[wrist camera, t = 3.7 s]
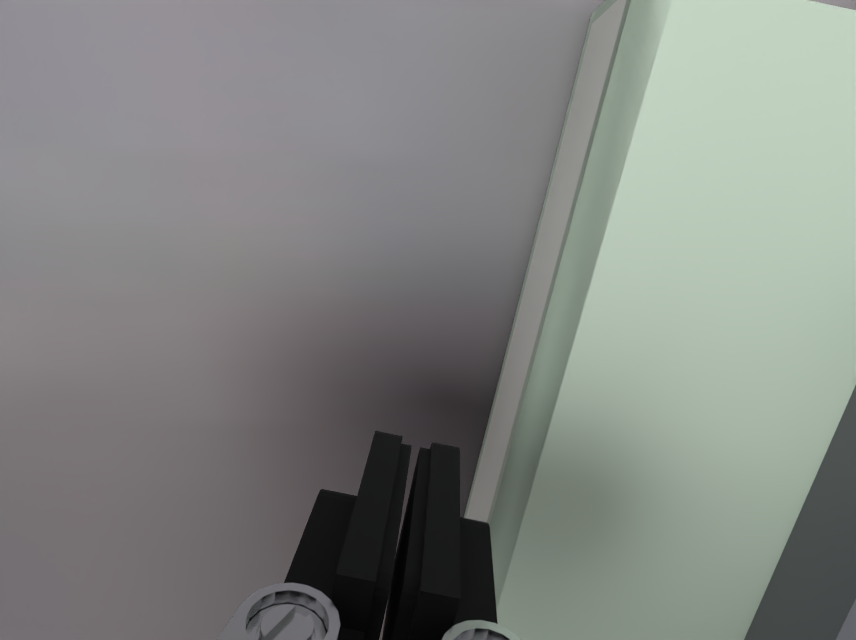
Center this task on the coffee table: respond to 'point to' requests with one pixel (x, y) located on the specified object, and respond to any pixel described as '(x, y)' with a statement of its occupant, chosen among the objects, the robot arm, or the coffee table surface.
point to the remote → (818, 554)
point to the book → (677, 323)
